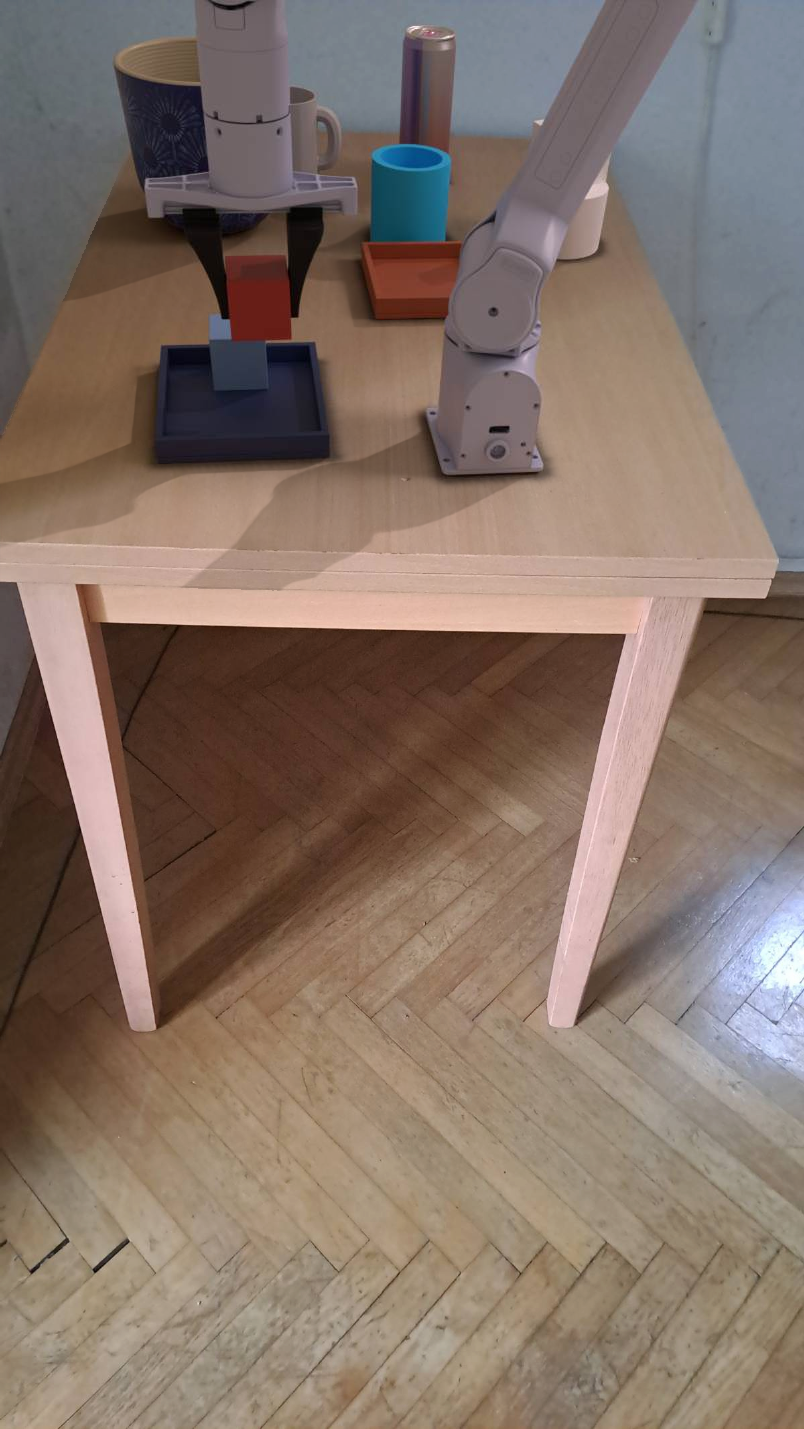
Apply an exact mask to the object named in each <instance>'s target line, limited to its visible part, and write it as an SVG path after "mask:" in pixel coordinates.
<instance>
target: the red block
mask: <svg viewBox="0 0 804 1429" xmlns="http://www.w3.org/2000/svg"><path fill="white" fill-rule="evenodd" d="M224 266H225V272H226V284H227V295H228V306H229V317H230V329H231V340H232V341H266V342H267V341H291V340H293V334H292V332H293V331H292V318H291V308H290V285H289V275H288V261H287V256H286V255H285V254H259V255H258V254H255V255H254V254H253V255H225V256H224Z"/></svg>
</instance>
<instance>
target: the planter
mask: <svg viewBox="0 0 804 1429" xmlns="http://www.w3.org/2000/svg"><path fill="white" fill-rule="evenodd" d="M112 64H113V65H112V66H113V69H114V75H115V79H116V83H117V88H118V93H119V94H118V95H119V98H120V103H121V107H122V112H123V116H124V122H125V128H126V131H127V136H128V141H129V146H130V150H131V155H132V160H133V165H134V170H135V173H136V174H135V175H136V177H137V180H138V184H139V186H140V188H141V191H142V193H143V194H144V196H145V190H144V188H145V179H146V178H166V177H175V176H182V175H190V174H197V173H204V172H209V165H208V155H207V144H206V133H205V122H204V111H203V104H202V93H201V82H200V72H199V61H198V50H197V39H196V35H195V36H194V35H193V36H191V35H190V36H189V35H188V36H172V37H171V36H170V37H163V38H156V39H155V38H154V39H150V40H143V41H140V42H137V43H134V44H130V45H128V46H126V47H124V48H122V49H120V50H119V51H118V52H117V53H116V54H115V55H114V56H113V59H112ZM268 216H270V213H220V224H221V235H229V234H234V233H239V232H243V231H246V230H250V229H251V228H253V227H256V226H257V225H259V224H260V223H261V222H263V221H264V220H266V218H267V217H268ZM162 220H164V221H165V222H167V223H168V224H170V225H172V226H173V227H176V228H177V229H179V230H182V231H184V219H183V214H165V216H164V217H162Z"/></svg>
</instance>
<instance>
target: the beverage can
mask: <svg viewBox="0 0 804 1429" xmlns="http://www.w3.org/2000/svg"><path fill="white" fill-rule="evenodd" d="M456 55H457V41H456V31H454V30H453V29H451V28H448V27H446V26H445V27H444V26H439V25H431V24H430V25H429V24H427V25H426V24H423V25H422V24H421V25H413V26H409V27H407V28H406V29H405V30H404V38H403V41H402V59H401V60H402V61H401V83H400V84H401V87H400V113H399V141H398V142H399V143H398V144H416V145H423V146H429V147H433V148H436V149H439V150H441V151H444V152H445V153H447V154H448V155H449V154H450V140H451V126H452V112H453V100H454V99H453V98H454V97H453V96H454V83H455V69H456V68H455V67H456V57H457V56H456ZM449 156H450V155H449Z"/></svg>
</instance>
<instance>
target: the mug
mask: <svg viewBox="0 0 804 1429" xmlns="http://www.w3.org/2000/svg"><path fill="white" fill-rule="evenodd" d="M451 166H452V159H451V155H448V154H447V153H445V152H444V151H441V150H439V149H436V148H433V147H429V146H423V145H416V144H399V143H398V144H389V145H385V146H381V147H379V148H376V149H375V150H373V152H372V153H371V177H370V178H371V180H370V182H371V183H370V184H371V186H370V227H369V228H370V229H369V230H370V231H369V233H370V234H369V235H370V237H369V239H370V242H424V241H446V236H447V221H448V210H449V196H450V195H449V193H450V184H451V183H450V181H451Z"/></svg>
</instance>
